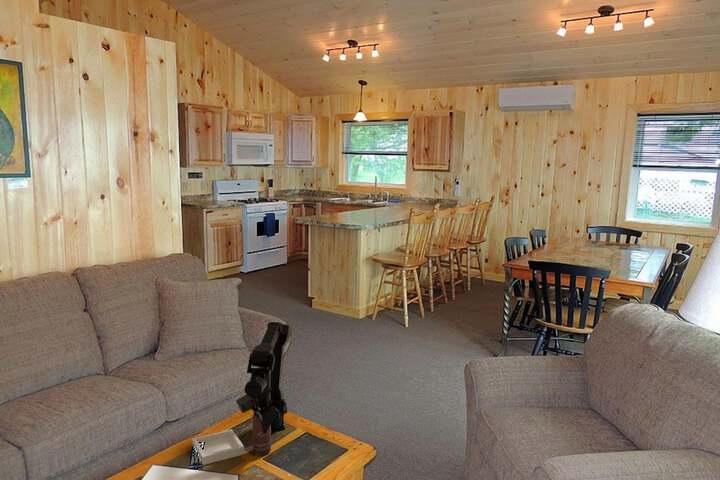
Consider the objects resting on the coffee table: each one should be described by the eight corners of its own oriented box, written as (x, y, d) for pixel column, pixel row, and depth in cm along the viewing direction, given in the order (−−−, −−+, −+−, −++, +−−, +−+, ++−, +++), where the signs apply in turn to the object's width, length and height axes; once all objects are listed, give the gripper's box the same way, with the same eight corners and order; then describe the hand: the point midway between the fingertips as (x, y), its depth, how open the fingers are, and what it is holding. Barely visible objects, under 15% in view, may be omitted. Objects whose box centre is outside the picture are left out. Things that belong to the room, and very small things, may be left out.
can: (273, 447, 184) (272, 409, 182) (268, 456, 177) (267, 417, 176) (256, 446, 184) (255, 408, 183) (250, 455, 178) (250, 416, 176)
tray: (231, 436, 191) (231, 429, 190) (244, 454, 179) (244, 446, 178) (192, 445, 184) (192, 438, 183) (202, 465, 172) (202, 457, 171)
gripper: (230, 380, 182) (230, 423, 184) (247, 400, 166) (248, 447, 168) (261, 375, 188) (261, 416, 189) (280, 394, 172) (280, 439, 173)
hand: (261, 429), depth 180 cm, fingers closed on can, 5 cm apart
